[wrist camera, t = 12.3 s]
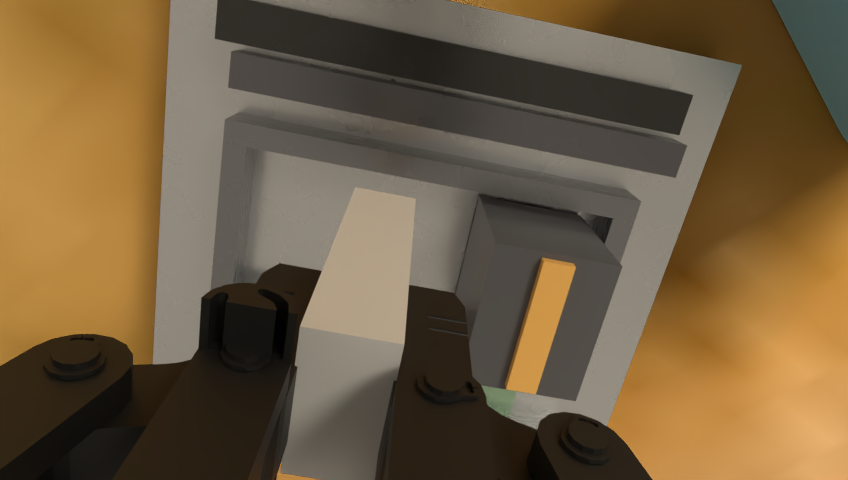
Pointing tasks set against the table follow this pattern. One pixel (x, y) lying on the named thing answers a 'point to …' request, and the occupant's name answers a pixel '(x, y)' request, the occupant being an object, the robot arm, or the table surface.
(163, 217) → the breaker panel
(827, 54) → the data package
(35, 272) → the table surface
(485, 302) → the breaker toggle
